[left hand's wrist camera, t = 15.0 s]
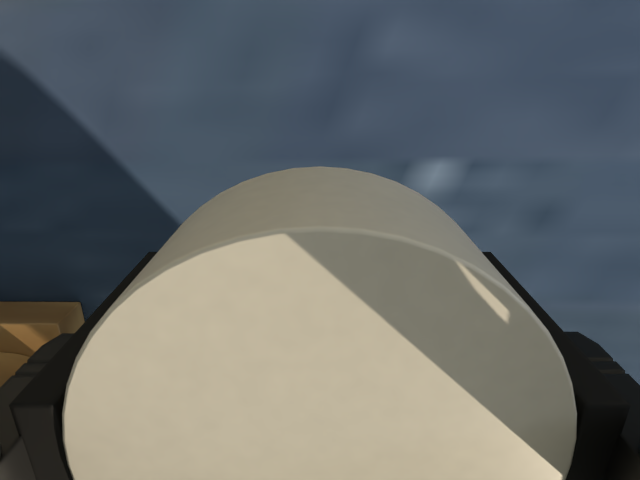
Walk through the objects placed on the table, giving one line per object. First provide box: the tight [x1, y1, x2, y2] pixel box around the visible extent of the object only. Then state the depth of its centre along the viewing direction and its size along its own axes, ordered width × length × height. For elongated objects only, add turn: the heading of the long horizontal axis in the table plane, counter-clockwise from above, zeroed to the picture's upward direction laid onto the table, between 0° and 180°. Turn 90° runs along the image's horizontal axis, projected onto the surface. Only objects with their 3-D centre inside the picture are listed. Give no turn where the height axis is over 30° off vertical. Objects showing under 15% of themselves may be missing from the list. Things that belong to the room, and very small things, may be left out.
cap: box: [62, 167, 577, 480], centre depth 10 cm, size 9×9×4 cm
